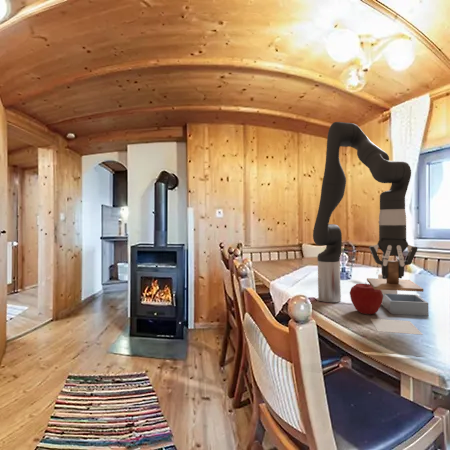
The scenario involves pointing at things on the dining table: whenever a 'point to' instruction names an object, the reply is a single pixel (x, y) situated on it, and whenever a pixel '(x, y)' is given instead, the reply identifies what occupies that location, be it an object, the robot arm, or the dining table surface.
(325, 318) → the dining table surface
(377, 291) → the apple
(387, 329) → the mat
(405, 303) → the grey open box
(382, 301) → the medicine bottle
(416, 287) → the lid
